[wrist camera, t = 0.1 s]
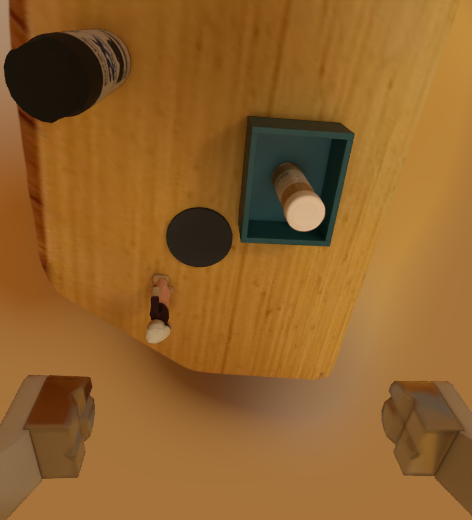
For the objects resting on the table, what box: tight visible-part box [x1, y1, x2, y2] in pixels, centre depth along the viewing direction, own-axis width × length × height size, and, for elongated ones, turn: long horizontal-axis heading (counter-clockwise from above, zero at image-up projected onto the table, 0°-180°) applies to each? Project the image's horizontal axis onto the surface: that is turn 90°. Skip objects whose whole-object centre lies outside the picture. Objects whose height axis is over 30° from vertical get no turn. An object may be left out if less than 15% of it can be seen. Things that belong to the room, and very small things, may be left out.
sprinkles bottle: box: [271, 162, 325, 231], centre depth 52 cm, size 5×5×13 cm
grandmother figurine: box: [146, 274, 174, 343], centre depth 61 cm, size 8×4×13 cm, turn 22°
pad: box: [166, 208, 232, 267], centre depth 62 cm, size 10×10×1 cm
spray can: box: [4, 29, 130, 123], centre depth 41 cm, size 7×7×20 cm
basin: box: [238, 116, 355, 246], centre depth 55 cm, size 16×13×6 cm
